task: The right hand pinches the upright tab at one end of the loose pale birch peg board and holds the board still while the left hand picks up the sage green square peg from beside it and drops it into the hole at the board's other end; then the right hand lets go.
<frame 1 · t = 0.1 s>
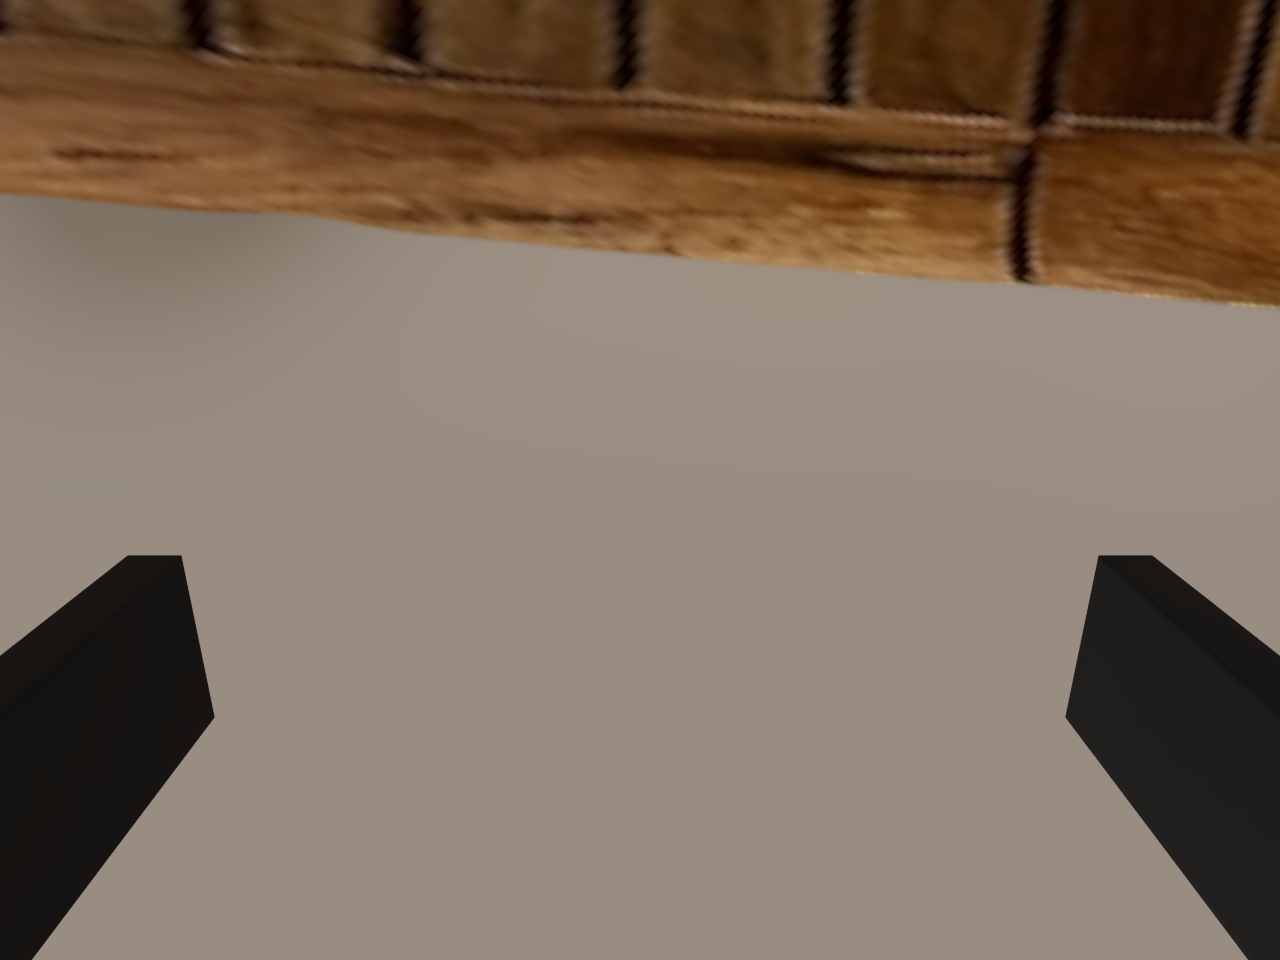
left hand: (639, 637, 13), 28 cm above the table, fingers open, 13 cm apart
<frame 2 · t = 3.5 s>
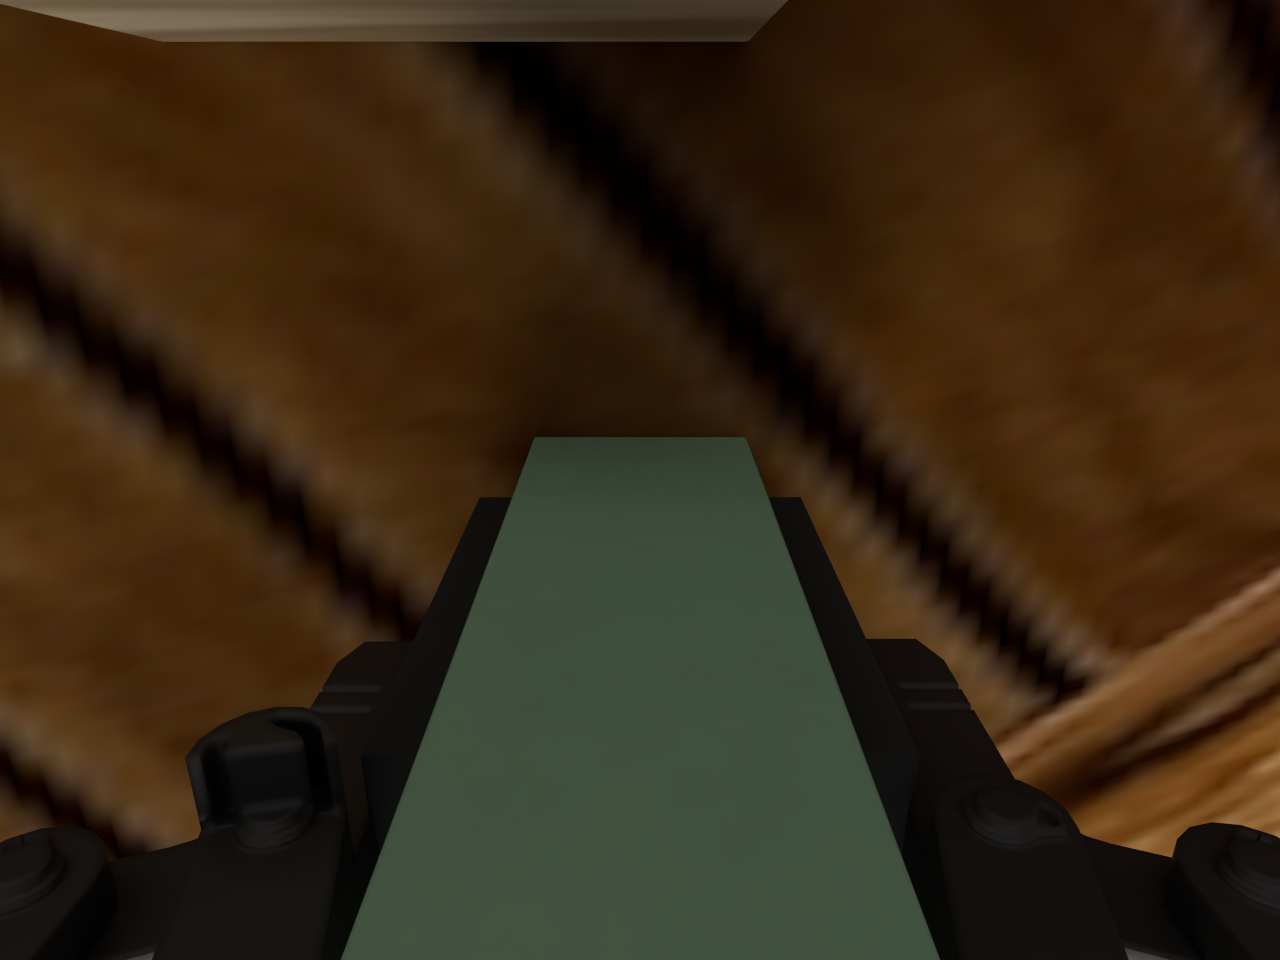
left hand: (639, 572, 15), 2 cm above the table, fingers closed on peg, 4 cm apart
peg: (640, 533, 16), on the table, touching left hand
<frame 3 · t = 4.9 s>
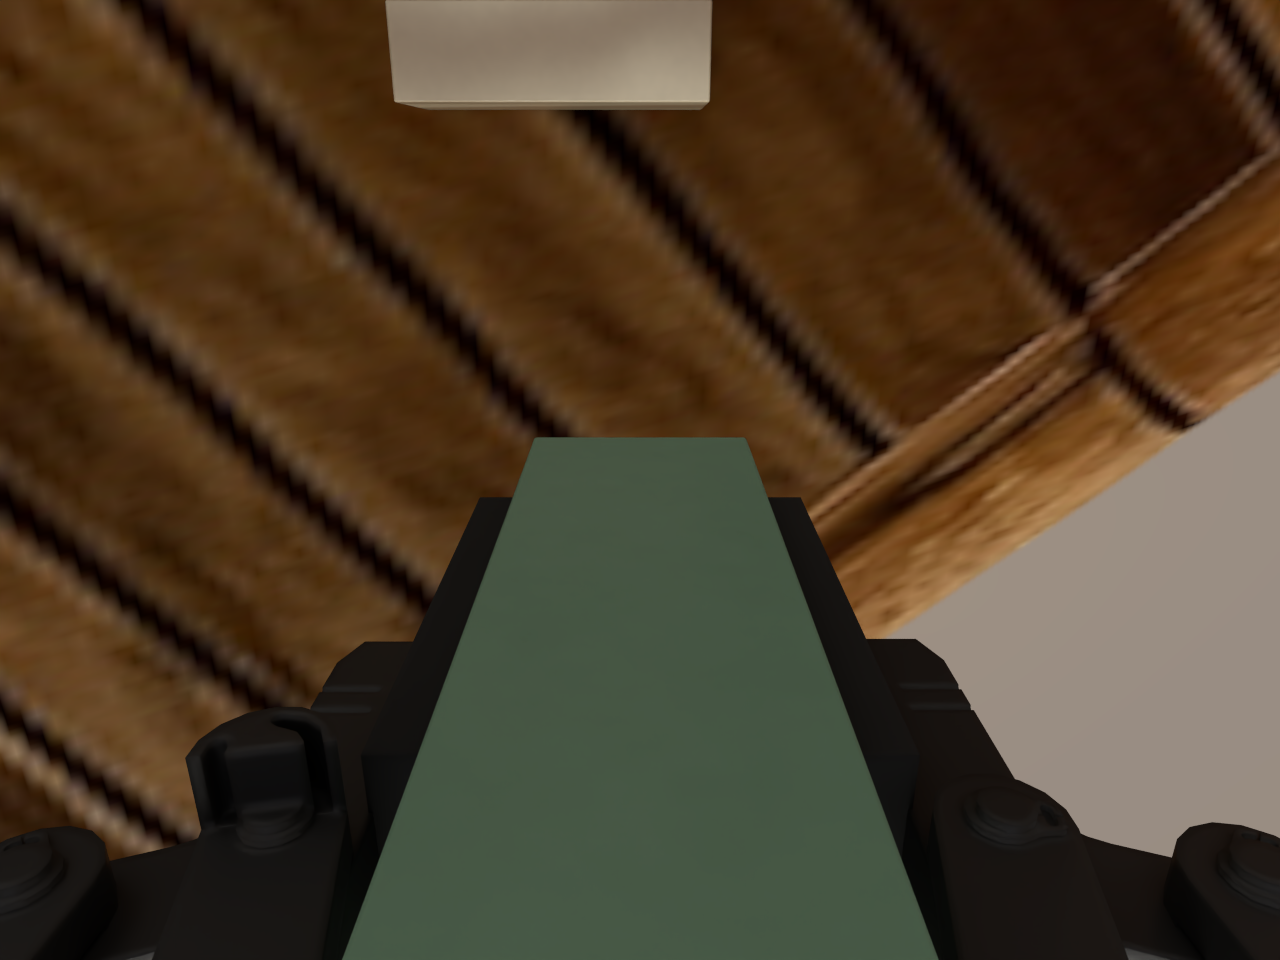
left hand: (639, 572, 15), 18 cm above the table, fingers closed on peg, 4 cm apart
peg: (640, 533, 16), point 16 cm above the table, touching left hand
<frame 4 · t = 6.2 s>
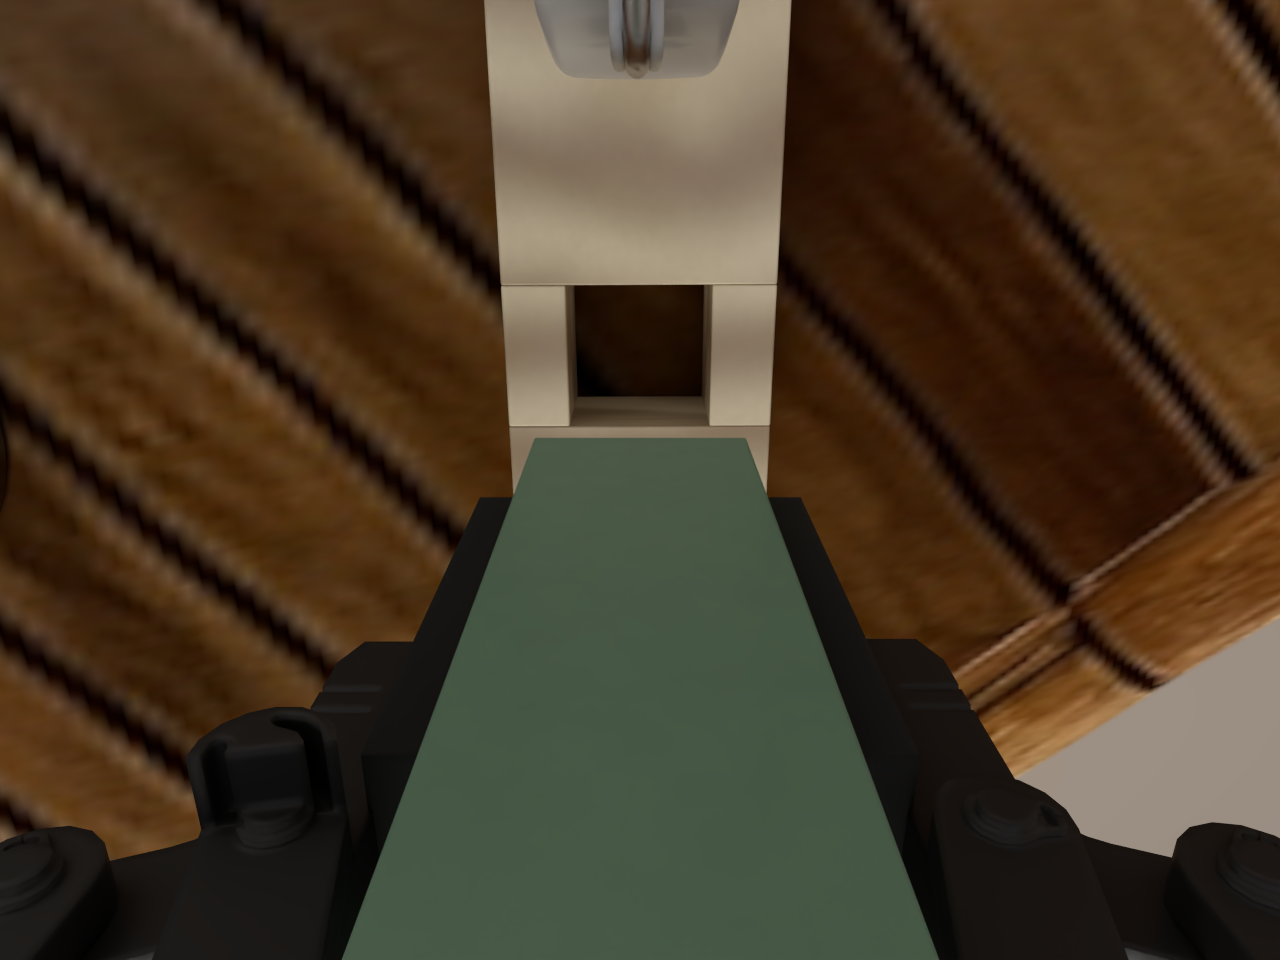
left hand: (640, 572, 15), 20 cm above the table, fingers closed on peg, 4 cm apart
peg board: (638, 104, 30), on the table, touching right hand
peg: (640, 533, 16), point 18 cm above the table, touching left hand
when the left hand's fingers open (6 cm above the table, at t = 8.9 s): peg drops 4 cm, resting in peg board.
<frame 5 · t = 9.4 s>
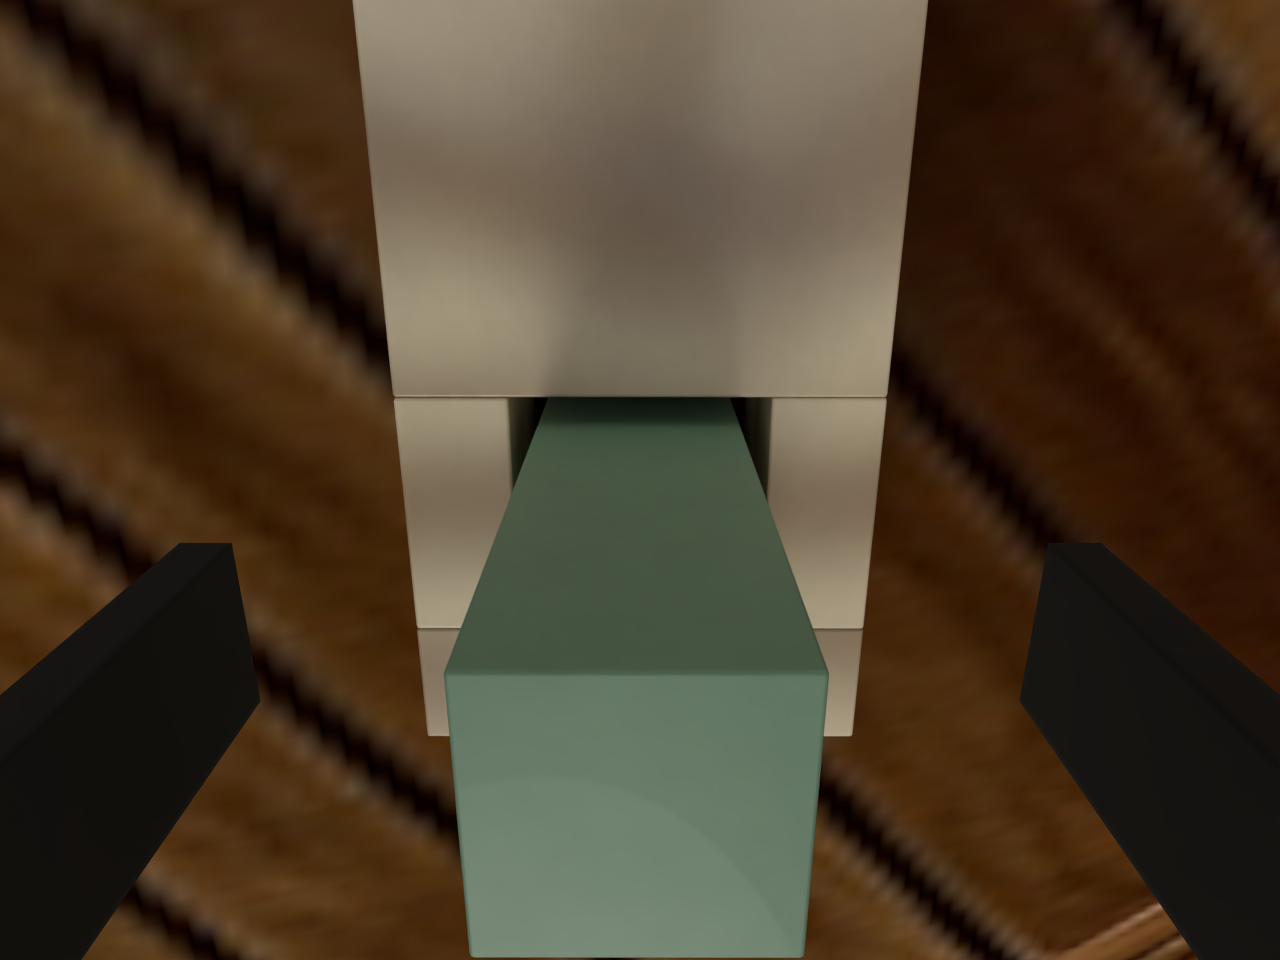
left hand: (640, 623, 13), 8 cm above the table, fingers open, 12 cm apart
peg board: (640, 77, 18), on the table, touching right hand
peg: (639, 455, 20), resting in peg board
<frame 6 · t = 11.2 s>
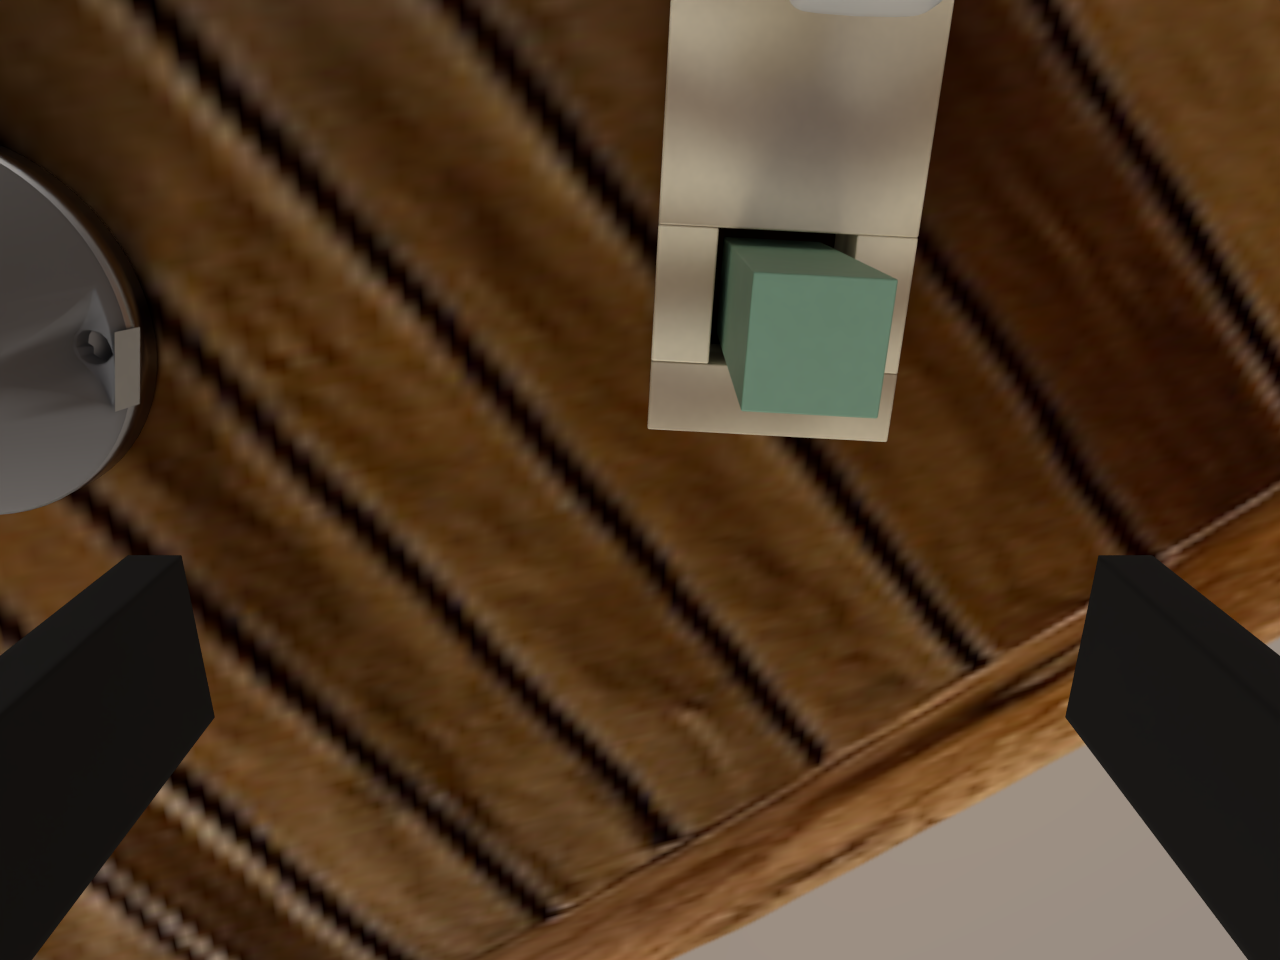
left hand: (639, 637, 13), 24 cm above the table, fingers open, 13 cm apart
peg board: (789, 65, 32), on the table, touching right hand
peg: (767, 288, 35), resting in peg board
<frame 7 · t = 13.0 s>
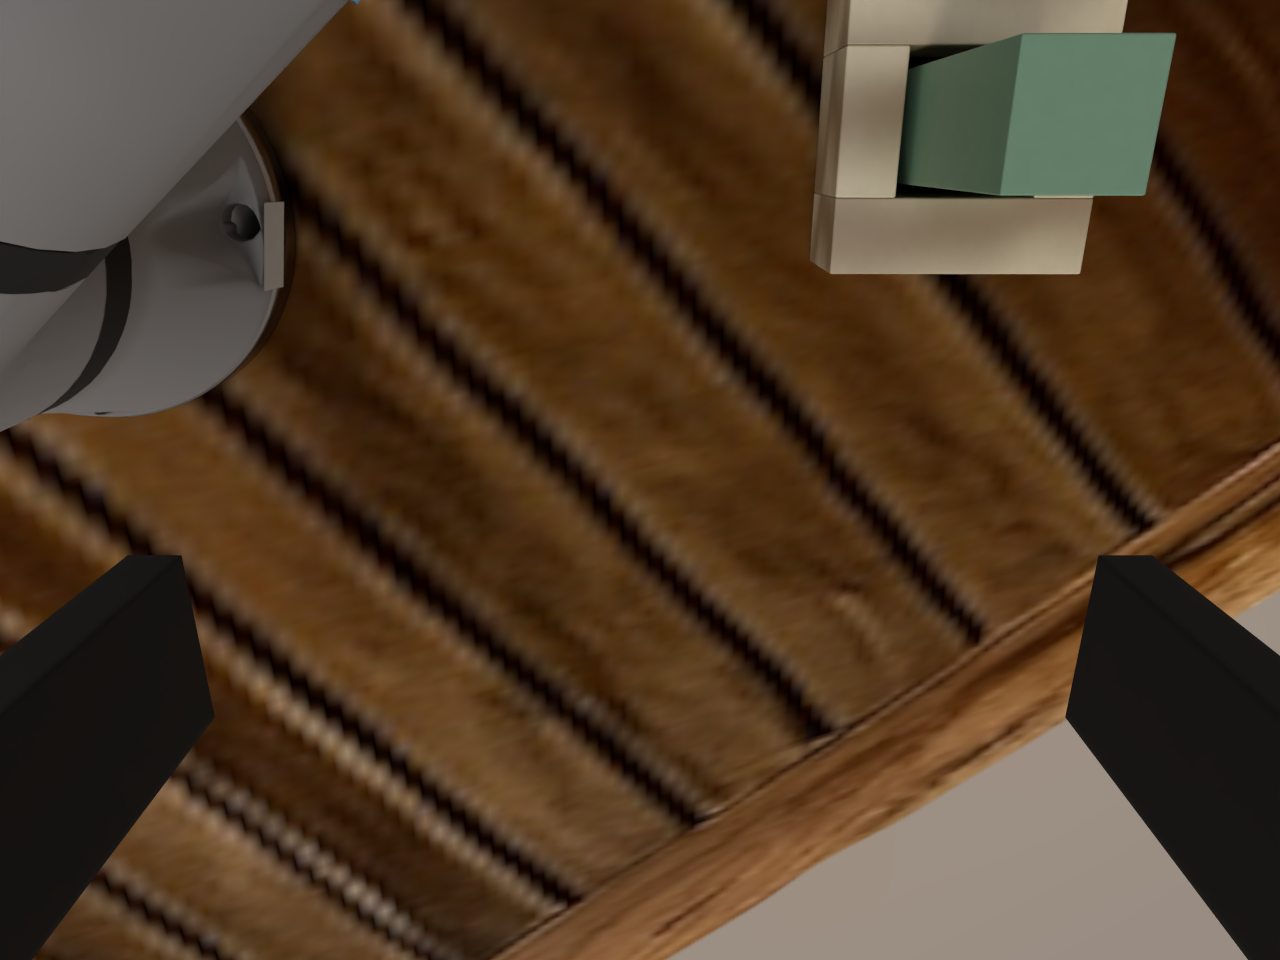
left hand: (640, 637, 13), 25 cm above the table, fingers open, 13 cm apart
peg: (935, 128, 33), resting in peg board
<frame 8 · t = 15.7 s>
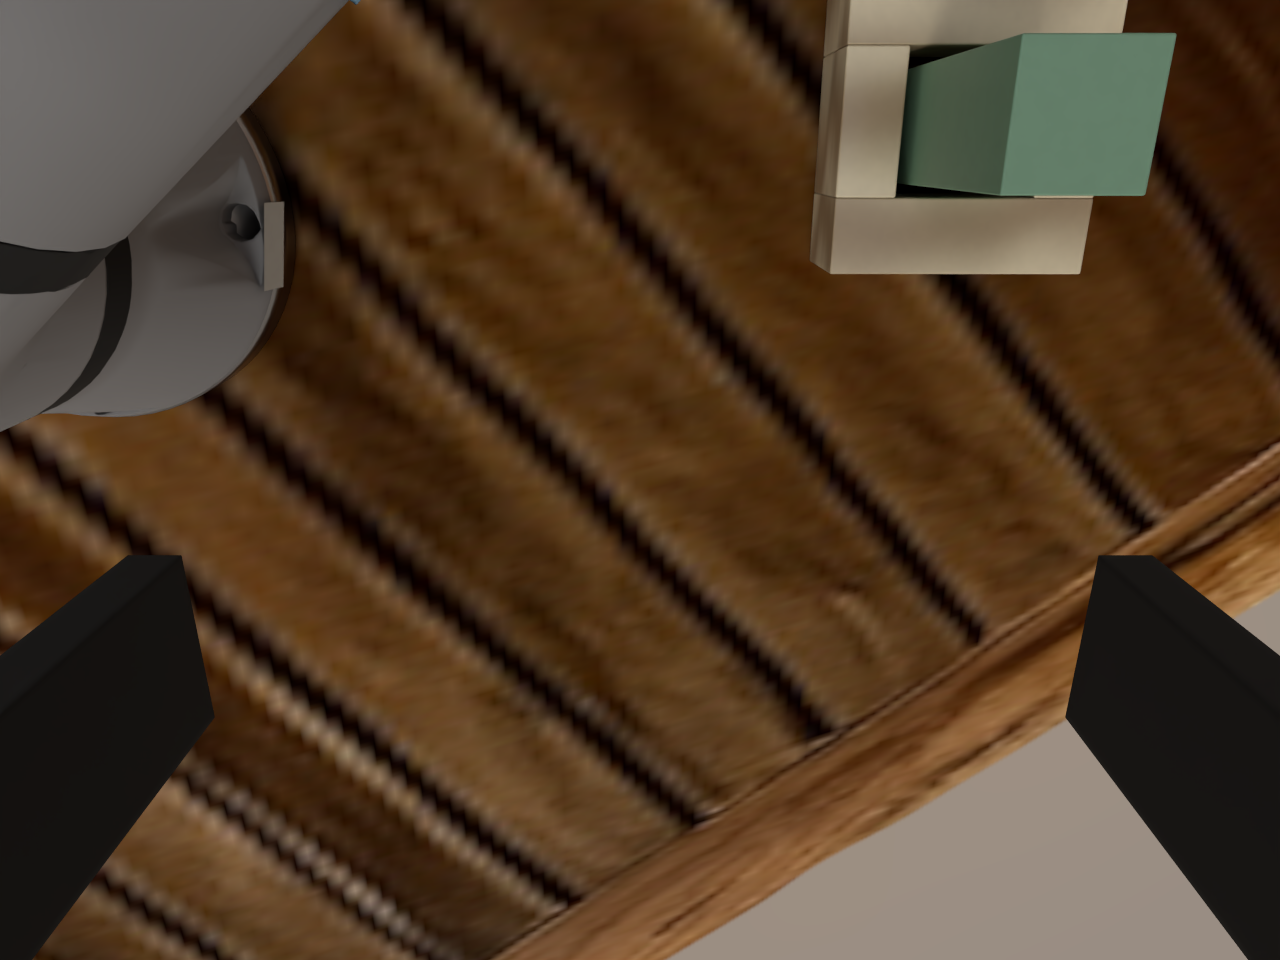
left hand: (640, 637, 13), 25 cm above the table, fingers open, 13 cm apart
peg: (935, 128, 33), resting in peg board
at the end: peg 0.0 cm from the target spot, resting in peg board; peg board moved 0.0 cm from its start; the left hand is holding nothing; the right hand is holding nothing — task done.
